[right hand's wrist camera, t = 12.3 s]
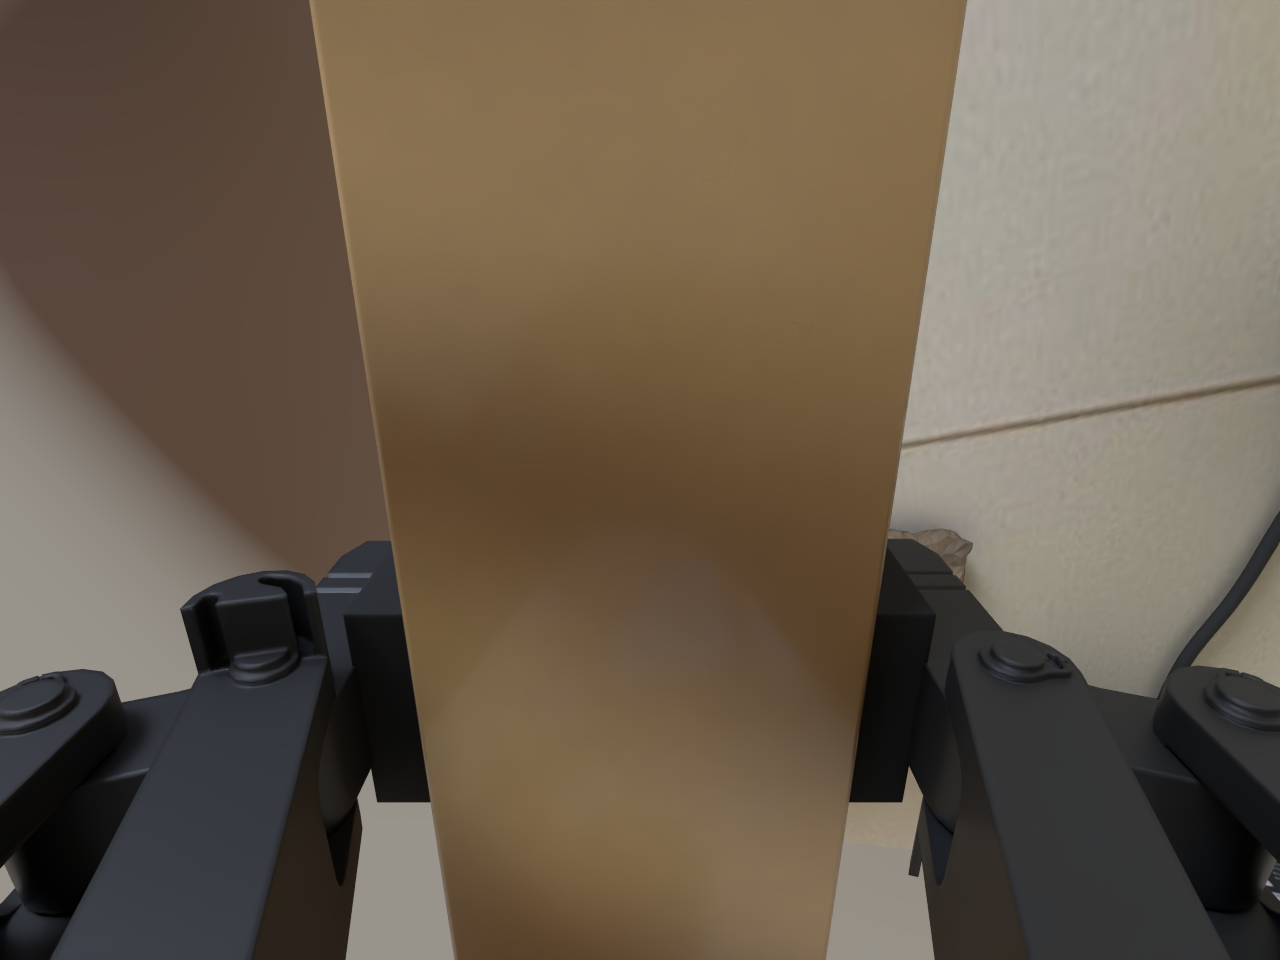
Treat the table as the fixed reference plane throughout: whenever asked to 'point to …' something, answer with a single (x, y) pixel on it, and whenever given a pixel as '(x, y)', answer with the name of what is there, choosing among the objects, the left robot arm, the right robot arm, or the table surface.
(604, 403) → the post
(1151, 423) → the table surface
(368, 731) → the right robot arm
